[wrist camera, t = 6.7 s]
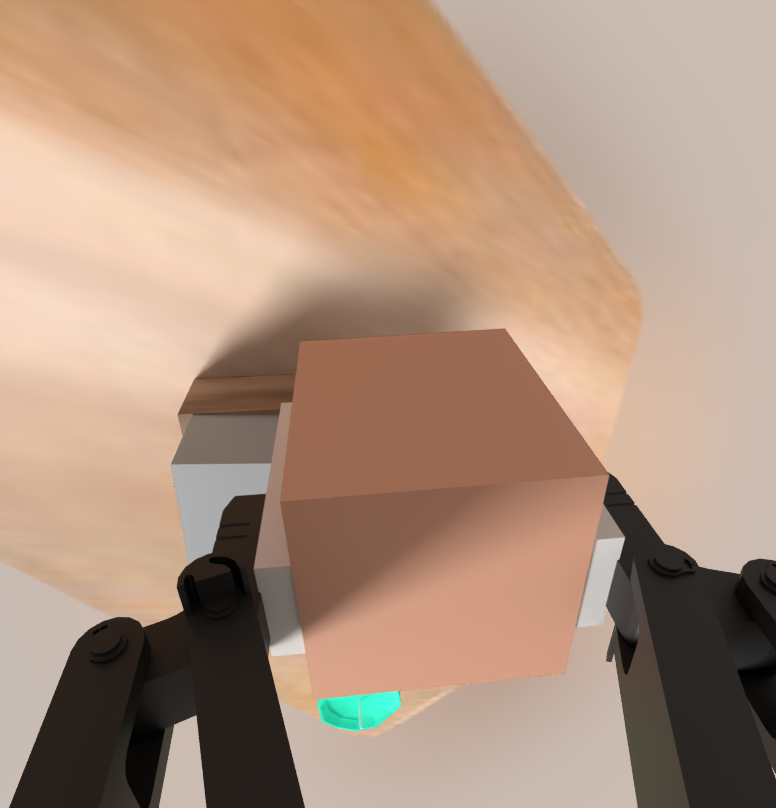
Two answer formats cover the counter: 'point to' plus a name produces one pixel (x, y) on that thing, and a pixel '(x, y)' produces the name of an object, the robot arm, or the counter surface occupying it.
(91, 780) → the robot arm
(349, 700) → the candle
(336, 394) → the terracotta block
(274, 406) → the tower base
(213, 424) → the gray tower middle block
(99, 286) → the counter surface
